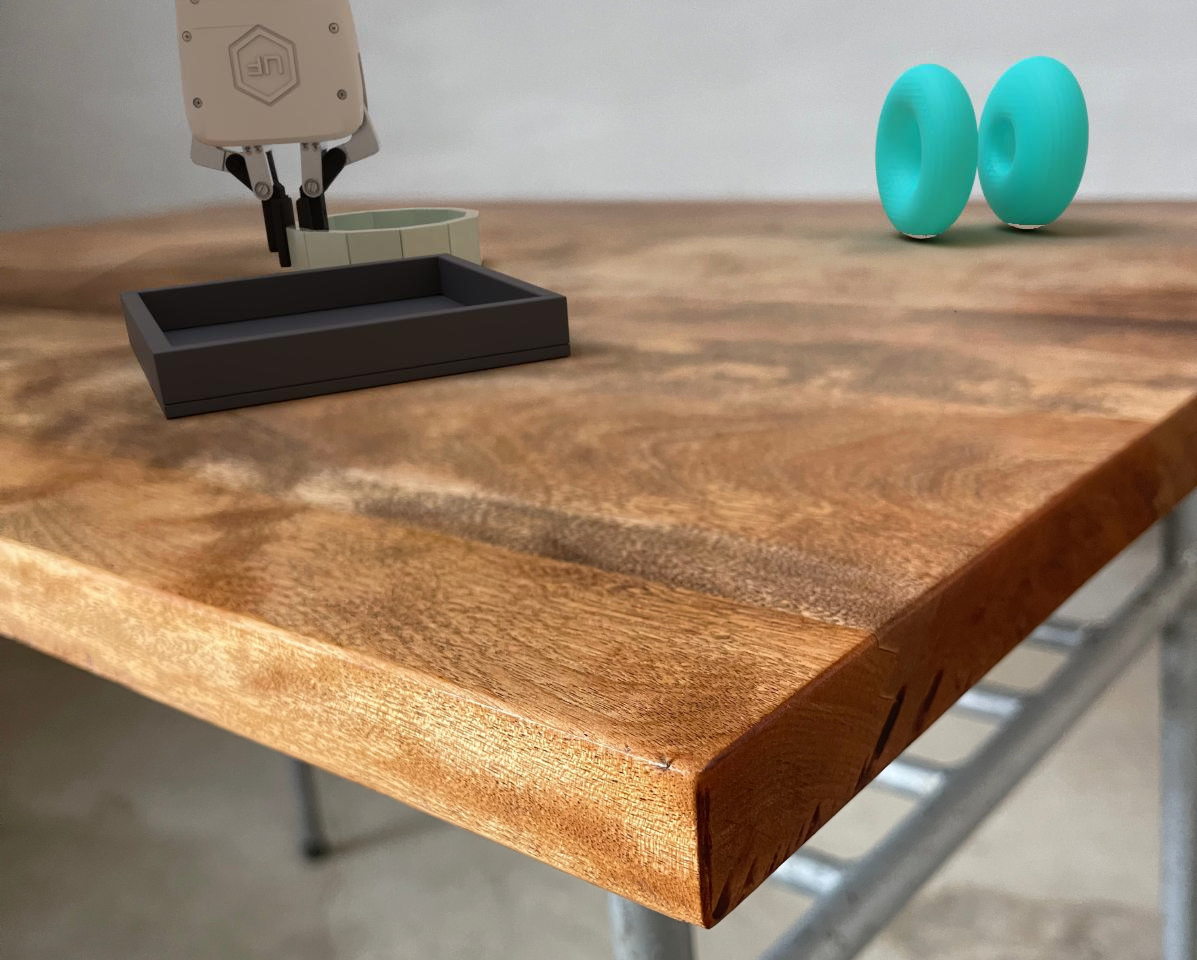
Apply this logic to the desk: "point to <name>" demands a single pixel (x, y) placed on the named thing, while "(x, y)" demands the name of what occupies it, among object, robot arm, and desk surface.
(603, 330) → the desk surface
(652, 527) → the desk surface
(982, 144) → the donuts
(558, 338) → the tray
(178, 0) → the robot arm
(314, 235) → the segmented polygonal ring
